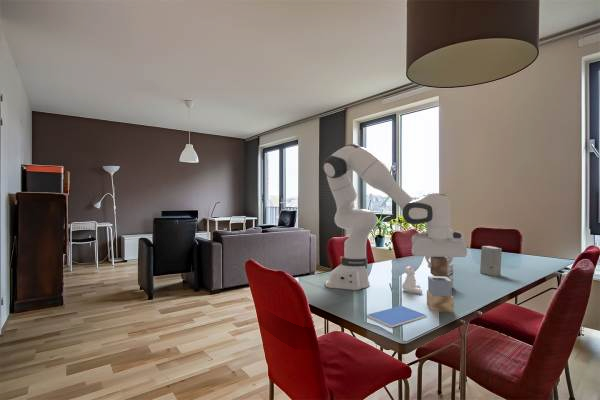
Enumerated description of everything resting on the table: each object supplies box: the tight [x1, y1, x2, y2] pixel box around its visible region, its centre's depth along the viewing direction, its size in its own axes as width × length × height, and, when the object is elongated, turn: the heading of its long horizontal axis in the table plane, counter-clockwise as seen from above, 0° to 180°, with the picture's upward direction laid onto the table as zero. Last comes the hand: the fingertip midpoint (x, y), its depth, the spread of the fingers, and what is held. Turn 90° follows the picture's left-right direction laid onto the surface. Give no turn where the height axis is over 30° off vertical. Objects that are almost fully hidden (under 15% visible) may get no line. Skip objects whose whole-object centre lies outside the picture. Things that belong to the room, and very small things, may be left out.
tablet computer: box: [366, 305, 428, 329], centre depth 114 cm, size 19×13×1 cm, turn 121°
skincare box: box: [479, 245, 503, 277], centre depth 176 cm, size 8×7×16 cm
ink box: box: [442, 263, 454, 288], centre depth 150 cm, size 8×5×12 cm, turn 123°
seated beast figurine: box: [402, 265, 423, 295], centre depth 145 cm, size 10×9×12 cm
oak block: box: [426, 289, 455, 313], centre depth 122 cm, size 8×8×6 cm
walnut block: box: [429, 257, 448, 277], centre depth 122 cm, size 5×5×7 cm
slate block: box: [427, 275, 453, 297], centre depth 122 cm, size 7×7×6 cm
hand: (438, 267), depth 122 cm, fingers closed on walnut block, 5 cm apart
